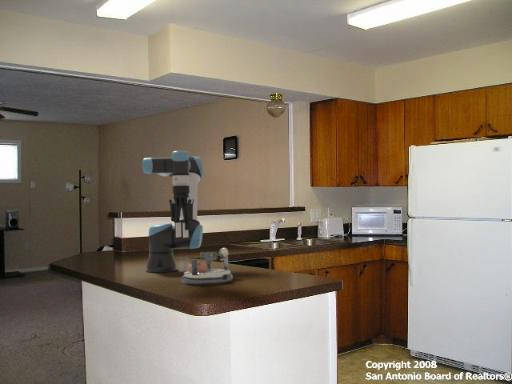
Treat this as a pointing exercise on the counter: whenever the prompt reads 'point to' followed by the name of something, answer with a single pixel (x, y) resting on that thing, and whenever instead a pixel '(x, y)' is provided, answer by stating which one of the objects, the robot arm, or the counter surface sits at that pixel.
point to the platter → (206, 273)
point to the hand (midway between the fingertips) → (182, 237)
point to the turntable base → (207, 281)
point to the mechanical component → (208, 257)
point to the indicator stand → (224, 254)
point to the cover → (199, 267)
